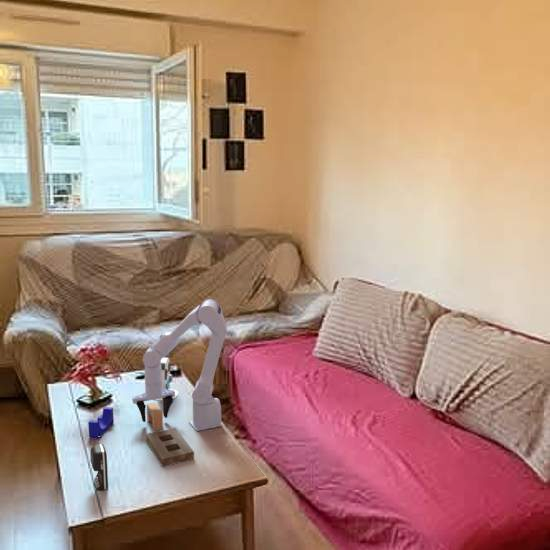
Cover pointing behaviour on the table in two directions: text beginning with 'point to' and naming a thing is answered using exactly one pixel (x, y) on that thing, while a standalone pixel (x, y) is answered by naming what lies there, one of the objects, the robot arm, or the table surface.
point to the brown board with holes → (169, 446)
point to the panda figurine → (166, 375)
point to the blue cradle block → (101, 423)
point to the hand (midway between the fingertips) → (154, 418)
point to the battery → (99, 466)
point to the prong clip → (155, 415)
